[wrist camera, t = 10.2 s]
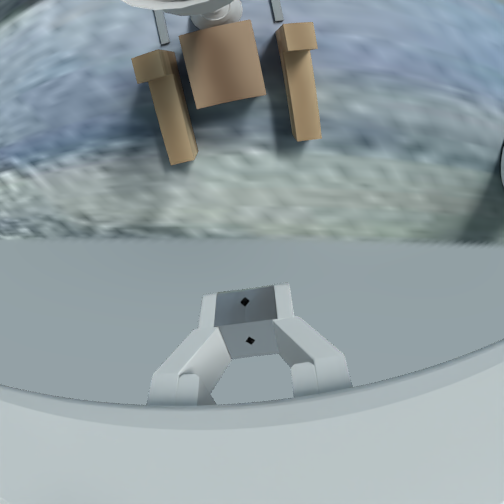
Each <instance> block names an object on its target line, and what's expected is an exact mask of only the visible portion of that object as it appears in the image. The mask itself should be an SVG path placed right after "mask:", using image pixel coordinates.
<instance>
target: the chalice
mask: <svg viewBox="0 0 504 504" xmlns="http://www.w3.org/2000/svg"><path fill="white" fill-rule="evenodd" d="M121 1H123V2H125V3H127V4H129V5H131V6H133V7H140V8H146V9H152V10H162V11H164V12H166V13H170V14H175V15H179V16H191V20H192V22H193V23H194V25H195V26H196V27H198V28H199V29H200V30H202V29H206V28H211V27H215V26H220V25H224V24H229V23H234V22H238V21H239V20H240V18H241V16H242V10H243V8H242V4H241V1H240V0H121Z"/></svg>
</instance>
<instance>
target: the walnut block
mask: <svg viewBox="0 0 504 504" xmlns="http://www.w3.org/2000/svg"><path fill="white" fill-rule="evenodd" d="M179 40H180V44H181V48H182V52H183V56H184V60H185V64H186V68H187V72H188V76H189V80H190V84H191V88H192V92H193V96H194V100H195V104H196V108H197V109H200V108H204V107H208V106H213V105H217V104H221V103H226V102H231V101H235V100H240V99H245V98H251V97H256V96H262V95H266V90H265V85H264V80H263V75H262V70H261V66H260V61H259V56H258V51H257V47H256V42H255V38H254V33H253V29H252V24H251V20H246V21H240V22H234V23H229V24H224V25H220V26H215V27H211V28H206V29H202V30H198V31H195V32H191V33H187V34H184V35H180V36H179Z"/></svg>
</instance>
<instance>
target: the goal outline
mask: <svg viewBox="0 0 504 504" xmlns="http://www.w3.org/2000/svg"><path fill="white" fill-rule="evenodd" d="M271 3H272V8H273V13H274V18H275V21H283V20H284V19H283V14H282V9H281V4H280V0H271ZM154 12H155V17H156V22H157V26H158V31H159V35H160V40H161V44H166V43H169V42H170V40H169V36H168V31H167V27H166V22H165V18H164V13H163V11H162V10H154Z"/></svg>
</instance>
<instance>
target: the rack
mask: <svg viewBox="0 0 504 504" xmlns="http://www.w3.org/2000/svg"><path fill="white" fill-rule="evenodd" d="M275 33H276V38H277V43H278V49H279V54H280V60H281V65H282V71H283V77H284V83H285V89H286V95H287V101H288V108H289V114H290V121H291V128H292V135H293V136H294V137H295V139H296V140H297V142H298V141H305V140H313V139H322V137H321V128H320V119H319V110H318V102H317V95H316V87H315V80H314V74H313V67H312V61H311V54H310V50H313V49H318V48H317V42H316V36H315V31H314V25H313V22H305V23H291V24H283V25H282V26H281V27H280V28H279V29H278V30H277V31H276V32H275ZM132 63H133V68H134V72H135V76H136V80H137V84H139V83H144V82H148V83H149V87H150V91H151V95H152V99H153V103H154V107H155V110H156V114H157V118H158V121H159V125H160V129H161V132H162V136H163V139H164V143H165V146H166V150H167V153H168V157H169V160H170V164H171V165H175V164H179V163H183V162H187V161H192V160H194V159H195V157H196V155H197V153H198V148H197V144H196V140H195V136H194V132H193V128H192V124H191V120H190V116H189V112H188V108H187V104H186V100H185V96H184V92H183V87H182V83H181V79H180V75H179V70H178V66H177V62H176V58H175V53H174V52H171V51H165V50H155V51H152V52H149V53H146V54H143V55H140V56H137V57H135V58H132Z"/></svg>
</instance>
